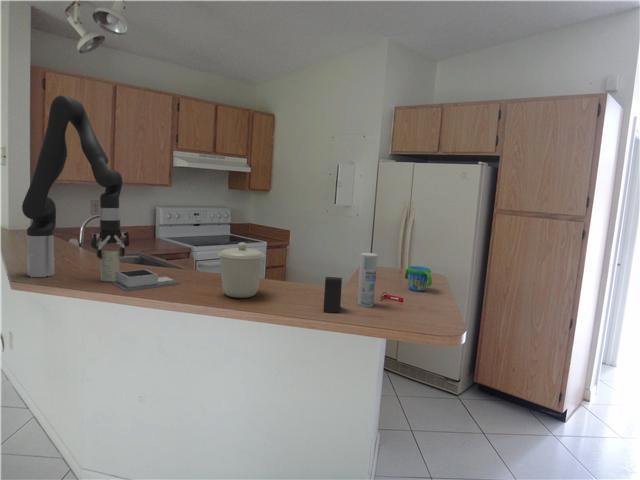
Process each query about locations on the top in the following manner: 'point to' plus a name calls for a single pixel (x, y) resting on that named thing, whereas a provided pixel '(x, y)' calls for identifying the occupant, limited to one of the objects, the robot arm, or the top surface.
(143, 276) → the board
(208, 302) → the top surface
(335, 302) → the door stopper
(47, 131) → the robot arm
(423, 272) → the snack cup
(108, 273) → the skincare box
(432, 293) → the top surface
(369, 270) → the spray can
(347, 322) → the top surface
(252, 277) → the canister
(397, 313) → the top surface
